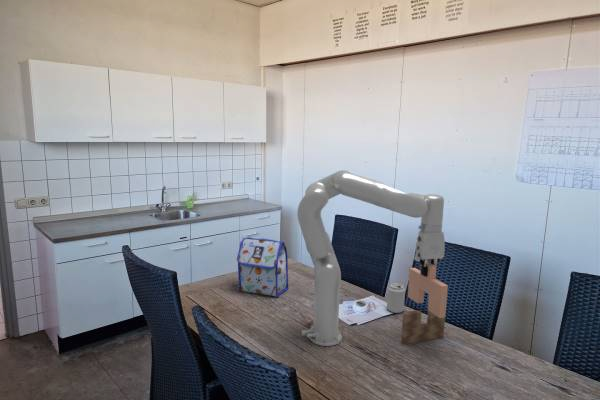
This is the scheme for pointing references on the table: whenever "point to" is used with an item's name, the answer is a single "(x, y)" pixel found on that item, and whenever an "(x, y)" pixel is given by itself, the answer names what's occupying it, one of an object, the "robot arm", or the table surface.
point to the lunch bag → (262, 266)
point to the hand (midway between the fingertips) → (427, 274)
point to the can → (396, 298)
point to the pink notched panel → (428, 290)
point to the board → (421, 327)
